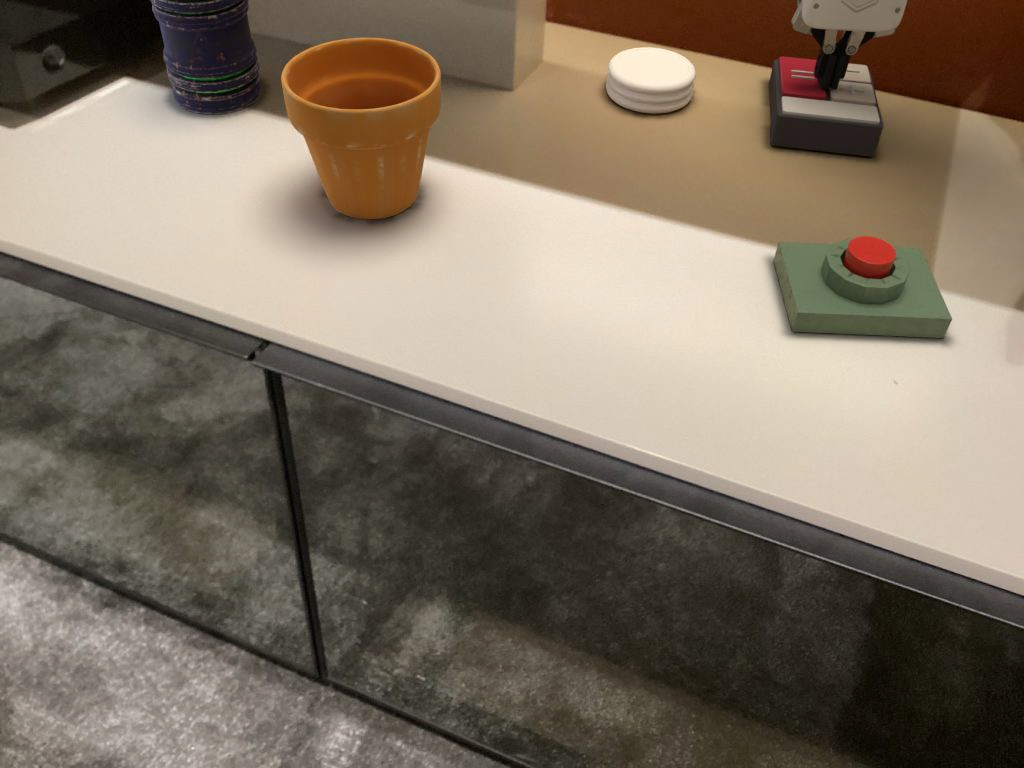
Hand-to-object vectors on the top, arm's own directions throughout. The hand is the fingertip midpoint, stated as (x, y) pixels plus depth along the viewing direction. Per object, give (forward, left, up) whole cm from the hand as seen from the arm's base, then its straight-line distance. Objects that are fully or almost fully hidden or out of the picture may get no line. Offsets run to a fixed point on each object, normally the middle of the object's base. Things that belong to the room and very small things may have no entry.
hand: (826, 83), depth 106 cm
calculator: (0, 0, -4) cm, 4 cm away
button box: (+3, +32, -4) cm, 32 cm away
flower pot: (+48, +19, -4) cm, 52 cm away
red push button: (+3, +32, -1) cm, 32 cm away
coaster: (+19, -4, -4) cm, 20 cm away
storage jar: (+68, 0, -4) cm, 68 cm away
